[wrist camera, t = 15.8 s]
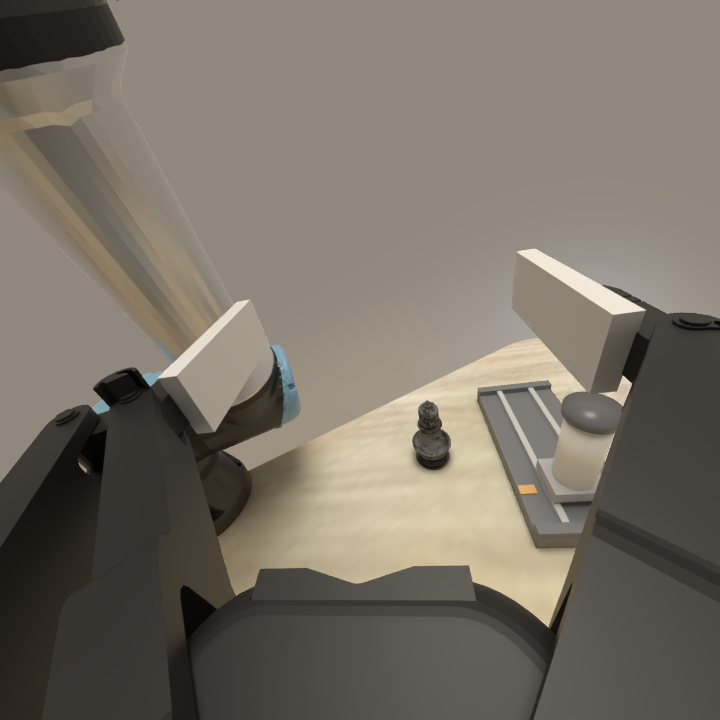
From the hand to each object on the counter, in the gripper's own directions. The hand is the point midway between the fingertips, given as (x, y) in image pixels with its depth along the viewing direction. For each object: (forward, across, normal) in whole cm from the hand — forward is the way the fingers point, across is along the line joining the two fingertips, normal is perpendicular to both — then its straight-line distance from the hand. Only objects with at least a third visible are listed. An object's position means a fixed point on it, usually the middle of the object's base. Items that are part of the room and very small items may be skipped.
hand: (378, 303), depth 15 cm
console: (+16, +19, -35) cm, 43 cm away
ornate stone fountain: (+17, +3, -35) cm, 39 cm away
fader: (+9, +19, -32) cm, 38 cm away
